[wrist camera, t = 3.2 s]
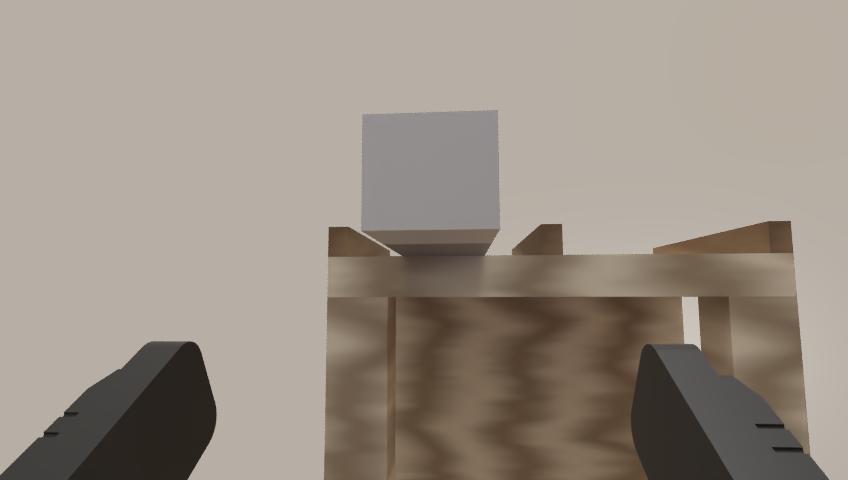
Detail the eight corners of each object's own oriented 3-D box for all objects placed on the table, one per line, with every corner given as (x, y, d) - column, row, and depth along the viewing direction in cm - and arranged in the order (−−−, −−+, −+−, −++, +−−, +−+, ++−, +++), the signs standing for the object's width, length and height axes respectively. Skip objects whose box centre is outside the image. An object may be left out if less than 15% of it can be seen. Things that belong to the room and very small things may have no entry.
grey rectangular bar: (476, 269, 38) (475, 224, 38) (499, 228, 14) (497, 109, 14) (424, 269, 38) (424, 225, 38) (361, 230, 14) (362, 114, 15)
